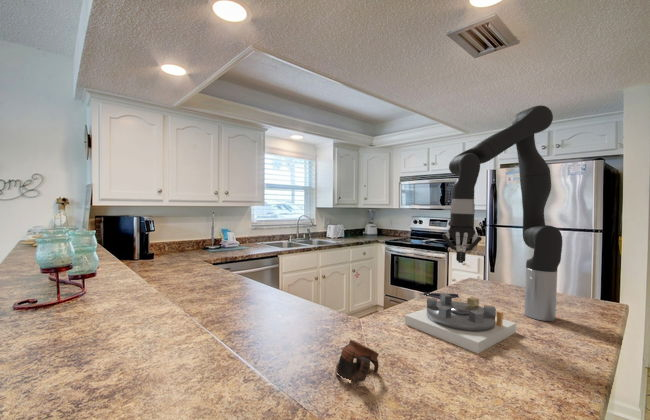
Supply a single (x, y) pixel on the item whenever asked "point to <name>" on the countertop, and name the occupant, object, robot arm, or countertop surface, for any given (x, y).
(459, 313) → the shallow round grey dish
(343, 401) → the countertop surface
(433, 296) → the bracket
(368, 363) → the pottery mug
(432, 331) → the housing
